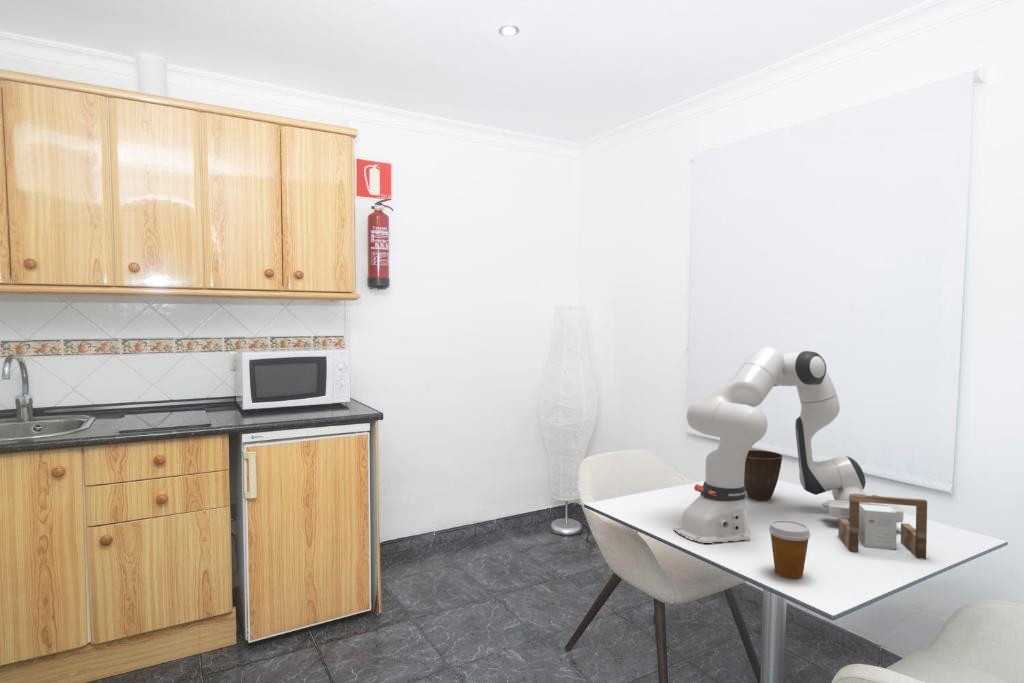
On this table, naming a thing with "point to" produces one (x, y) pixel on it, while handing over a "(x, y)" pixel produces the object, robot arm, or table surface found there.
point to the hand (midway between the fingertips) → (871, 519)
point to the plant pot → (761, 474)
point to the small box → (877, 526)
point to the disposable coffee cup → (789, 547)
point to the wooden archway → (909, 535)
